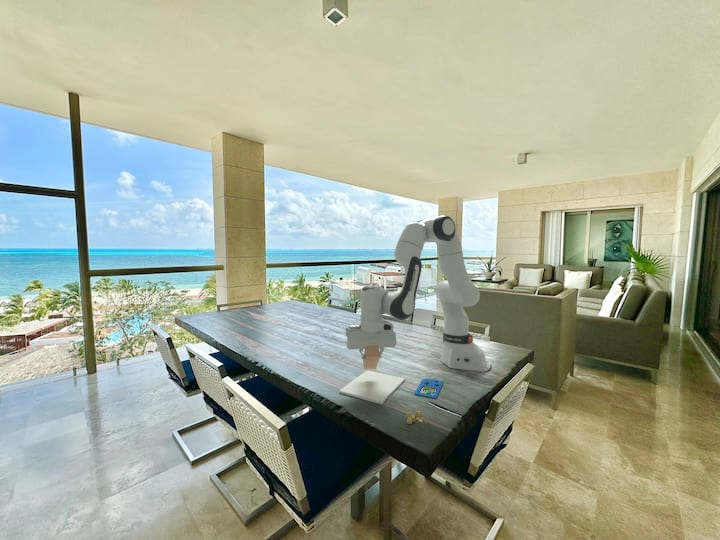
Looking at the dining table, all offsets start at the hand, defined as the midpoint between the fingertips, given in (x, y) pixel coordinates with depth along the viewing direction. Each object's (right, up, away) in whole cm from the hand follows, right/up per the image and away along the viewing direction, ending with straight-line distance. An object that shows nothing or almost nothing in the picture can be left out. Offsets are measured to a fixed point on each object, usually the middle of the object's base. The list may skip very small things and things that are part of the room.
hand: (371, 358), depth 119 cm
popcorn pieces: (+13, -13, -25) cm, 31 cm away
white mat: (+1, -10, -2) cm, 11 cm away
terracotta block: (-1, -4, +5) cm, 7 cm away
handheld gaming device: (+22, -11, -4) cm, 25 cm away
